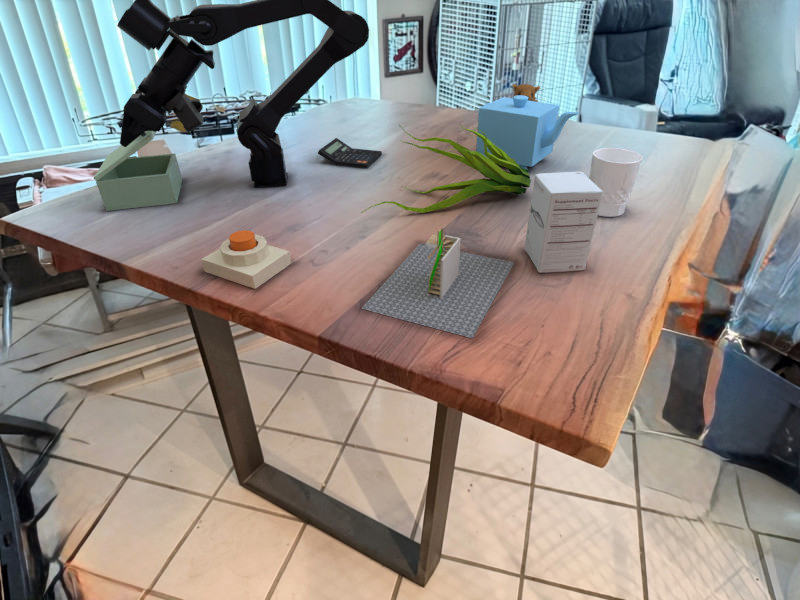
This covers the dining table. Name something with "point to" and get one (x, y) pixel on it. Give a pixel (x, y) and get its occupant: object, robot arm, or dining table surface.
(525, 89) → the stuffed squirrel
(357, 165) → the calculator
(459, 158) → the decorative plant
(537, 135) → the teapot
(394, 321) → the dining table surface
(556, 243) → the white packaging box
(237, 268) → the control block
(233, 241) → the button
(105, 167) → the box lid
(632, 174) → the white cup
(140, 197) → the green lidded box
